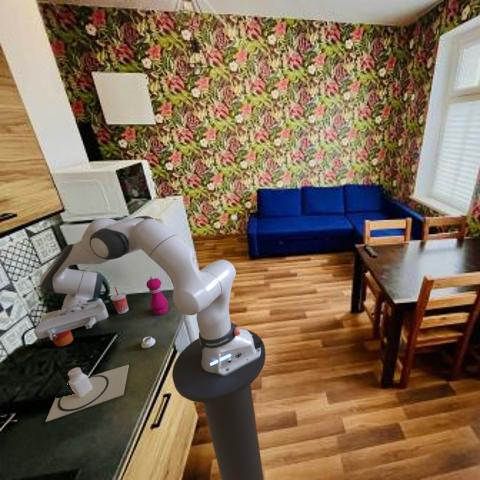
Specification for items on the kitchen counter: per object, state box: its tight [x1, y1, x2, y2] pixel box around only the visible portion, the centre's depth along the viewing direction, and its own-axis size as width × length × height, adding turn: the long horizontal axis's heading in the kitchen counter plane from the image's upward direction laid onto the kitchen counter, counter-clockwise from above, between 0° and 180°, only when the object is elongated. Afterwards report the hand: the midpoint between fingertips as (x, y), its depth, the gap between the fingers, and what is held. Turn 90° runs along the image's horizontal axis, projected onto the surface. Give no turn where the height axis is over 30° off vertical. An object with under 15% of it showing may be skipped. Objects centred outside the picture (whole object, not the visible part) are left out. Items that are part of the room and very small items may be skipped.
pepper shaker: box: [67, 367, 92, 397], centre depth 89 cm, size 4×4×10 cm
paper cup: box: [39, 309, 74, 348], centre depth 110 cm, size 8×8×14 cm
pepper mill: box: [146, 275, 169, 316], centre depth 129 cm, size 7×7×20 cm
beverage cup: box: [109, 286, 130, 315], centre depth 130 cm, size 6×6×14 cm
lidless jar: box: [141, 336, 156, 349], centre depth 111 cm, size 5×3×5 cm
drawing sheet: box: [45, 364, 130, 423], centre depth 92 cm, size 20×14×1 cm
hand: (71, 332), depth 94 cm, fingers open, 8 cm apart
